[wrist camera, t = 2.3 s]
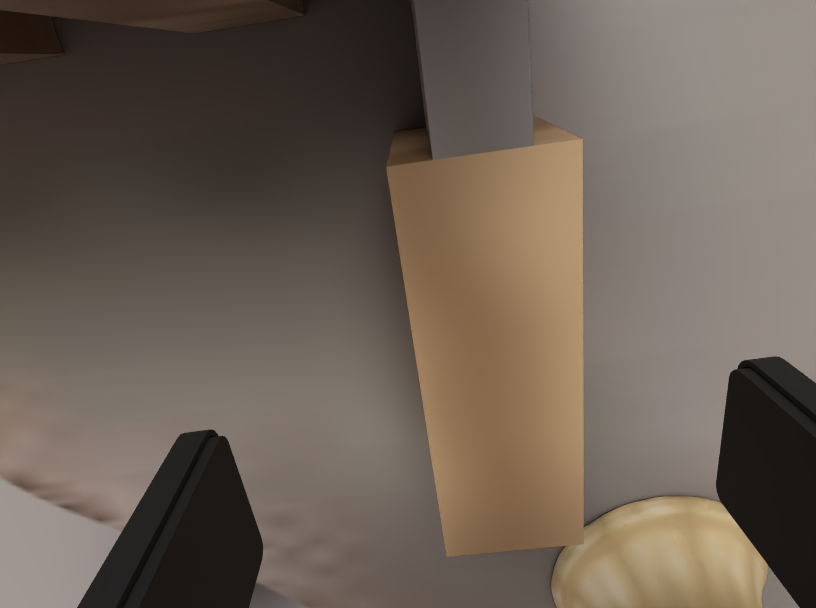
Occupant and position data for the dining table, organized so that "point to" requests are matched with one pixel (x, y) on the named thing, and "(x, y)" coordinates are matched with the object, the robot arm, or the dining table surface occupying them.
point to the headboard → (125, 19)
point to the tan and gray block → (493, 282)
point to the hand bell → (661, 559)
